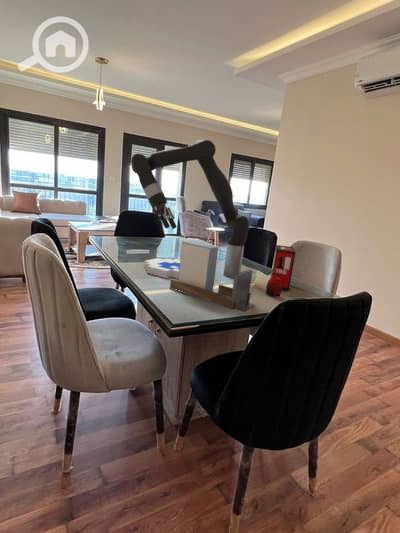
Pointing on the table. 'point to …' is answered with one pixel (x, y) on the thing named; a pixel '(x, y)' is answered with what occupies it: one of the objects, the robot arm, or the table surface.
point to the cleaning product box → (283, 265)
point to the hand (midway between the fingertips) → (171, 227)
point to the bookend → (241, 290)
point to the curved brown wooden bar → (207, 293)
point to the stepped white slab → (163, 267)
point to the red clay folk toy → (274, 286)
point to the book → (198, 264)
